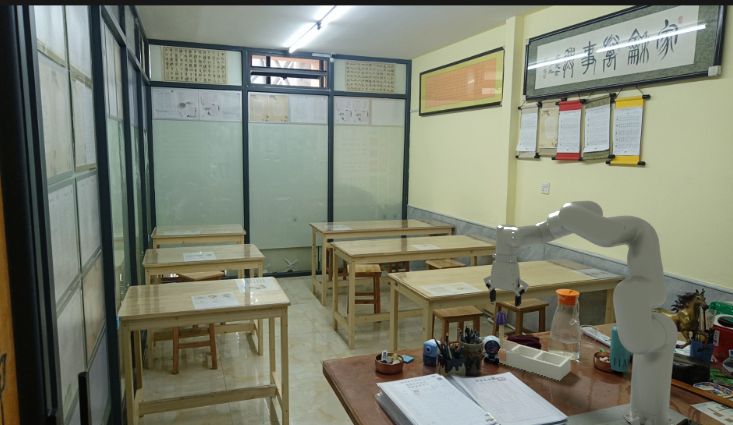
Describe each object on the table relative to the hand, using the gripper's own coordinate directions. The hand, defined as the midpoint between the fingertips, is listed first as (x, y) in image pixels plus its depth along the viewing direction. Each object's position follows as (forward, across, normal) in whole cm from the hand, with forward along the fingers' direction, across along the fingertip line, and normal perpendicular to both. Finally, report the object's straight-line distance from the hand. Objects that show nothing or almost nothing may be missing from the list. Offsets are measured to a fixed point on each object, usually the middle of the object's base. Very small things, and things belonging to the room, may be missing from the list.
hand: (505, 303), depth 177 cm
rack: (+21, +8, 0) cm, 23 cm away
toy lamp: (+20, -1, 0) cm, 20 cm away
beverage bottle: (+22, +35, +16) cm, 45 cm away
